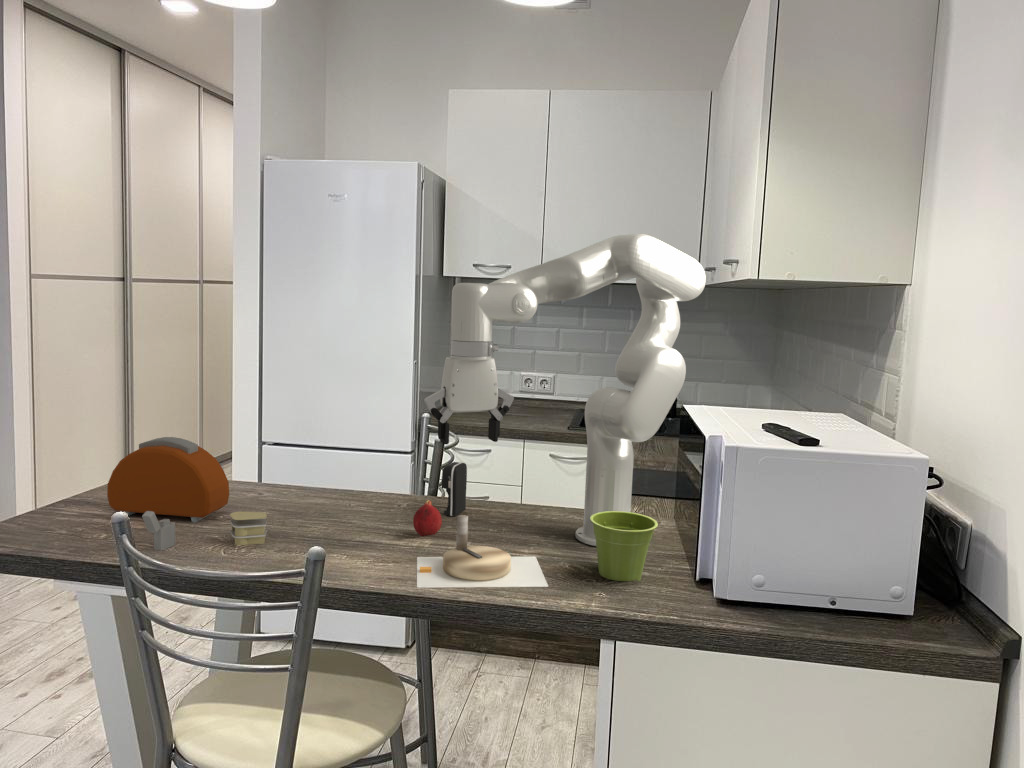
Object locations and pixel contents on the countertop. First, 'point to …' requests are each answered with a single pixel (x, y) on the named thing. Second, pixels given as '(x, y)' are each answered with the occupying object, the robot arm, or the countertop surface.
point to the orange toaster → (169, 480)
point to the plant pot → (622, 543)
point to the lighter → (160, 530)
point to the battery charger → (455, 487)
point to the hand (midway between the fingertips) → (468, 441)
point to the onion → (427, 520)
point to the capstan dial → (474, 558)
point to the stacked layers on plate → (248, 527)
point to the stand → (520, 575)
